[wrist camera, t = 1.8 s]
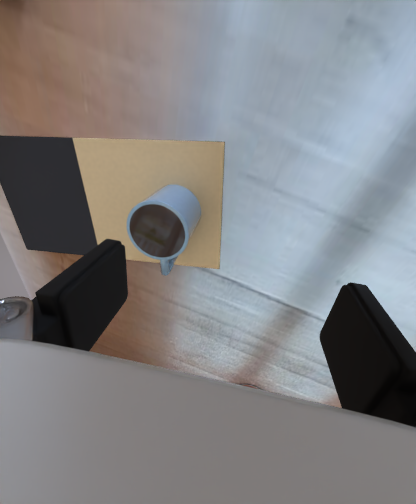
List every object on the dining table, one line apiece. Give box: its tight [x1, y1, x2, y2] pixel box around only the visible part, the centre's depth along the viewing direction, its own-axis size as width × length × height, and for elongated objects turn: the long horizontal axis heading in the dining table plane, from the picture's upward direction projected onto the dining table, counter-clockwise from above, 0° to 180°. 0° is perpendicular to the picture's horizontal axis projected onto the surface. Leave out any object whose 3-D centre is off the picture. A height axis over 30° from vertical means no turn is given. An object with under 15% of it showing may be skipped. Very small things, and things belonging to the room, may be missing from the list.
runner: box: [0, 136, 225, 269], centre depth 35 cm, size 34×18×1 cm, turn 89°
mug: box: [127, 184, 201, 276], centre depth 31 cm, size 10×7×8 cm
